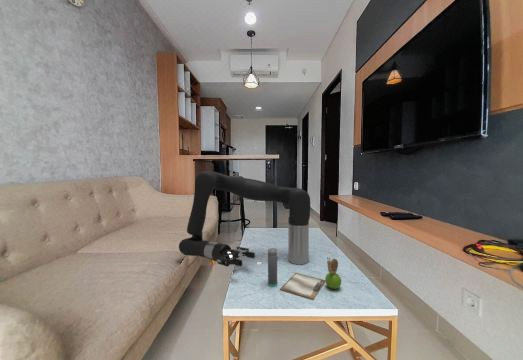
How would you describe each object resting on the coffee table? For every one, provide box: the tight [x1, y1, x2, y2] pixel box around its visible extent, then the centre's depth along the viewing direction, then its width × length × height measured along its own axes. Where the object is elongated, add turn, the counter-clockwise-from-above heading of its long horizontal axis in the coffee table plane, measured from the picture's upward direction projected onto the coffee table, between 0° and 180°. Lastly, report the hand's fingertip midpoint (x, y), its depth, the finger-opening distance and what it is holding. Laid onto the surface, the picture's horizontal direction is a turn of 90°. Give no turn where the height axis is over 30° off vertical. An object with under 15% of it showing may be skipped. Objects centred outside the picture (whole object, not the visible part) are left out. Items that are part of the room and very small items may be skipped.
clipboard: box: [279, 272, 326, 301], centre depth 82 cm, size 14×12×1 cm
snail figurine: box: [324, 256, 342, 290], centre depth 80 cm, size 5×6×12 cm
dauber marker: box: [267, 248, 278, 288], centre depth 83 cm, size 3×3×13 cm
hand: (248, 259), depth 88 cm, fingers open, 8 cm apart
